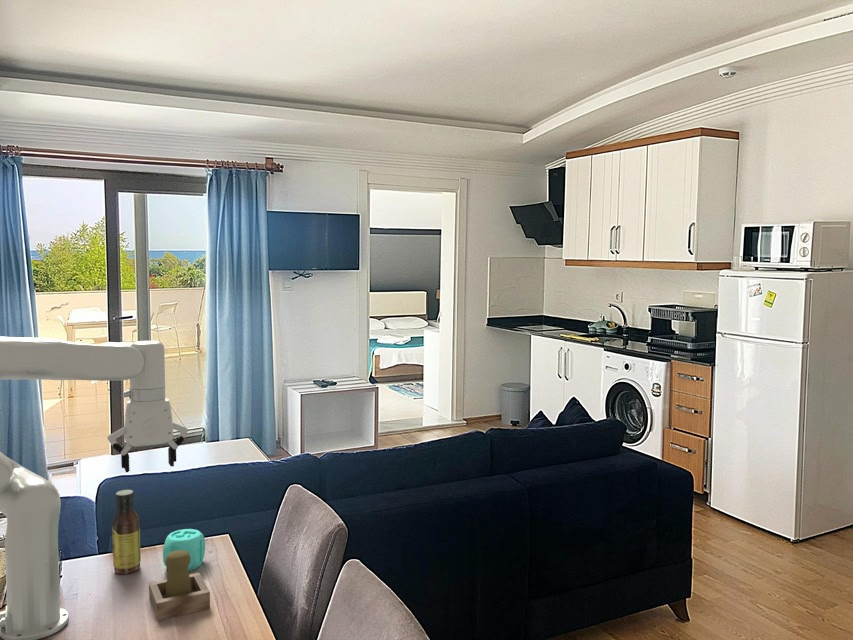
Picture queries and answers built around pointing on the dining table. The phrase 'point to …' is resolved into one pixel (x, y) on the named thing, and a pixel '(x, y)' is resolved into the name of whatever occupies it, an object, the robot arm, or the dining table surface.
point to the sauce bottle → (126, 535)
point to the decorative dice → (186, 545)
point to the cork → (178, 574)
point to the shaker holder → (179, 598)
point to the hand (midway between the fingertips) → (149, 467)
